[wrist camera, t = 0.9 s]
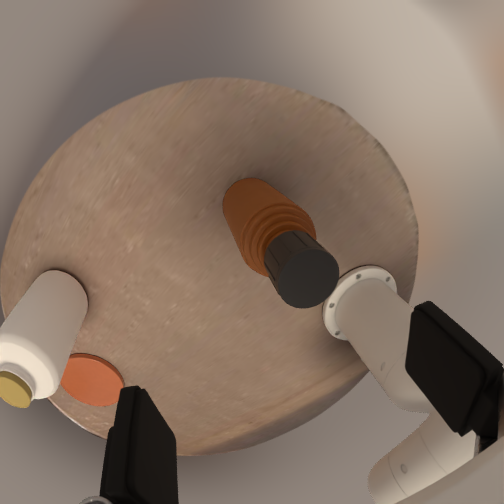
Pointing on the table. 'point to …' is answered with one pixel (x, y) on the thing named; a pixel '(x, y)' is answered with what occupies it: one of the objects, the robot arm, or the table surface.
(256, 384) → the table surface
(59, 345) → the potion bottle
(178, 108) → the table surface
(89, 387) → the orange round coaster
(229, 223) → the sauce bottle
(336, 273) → the cap
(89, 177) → the table surface
